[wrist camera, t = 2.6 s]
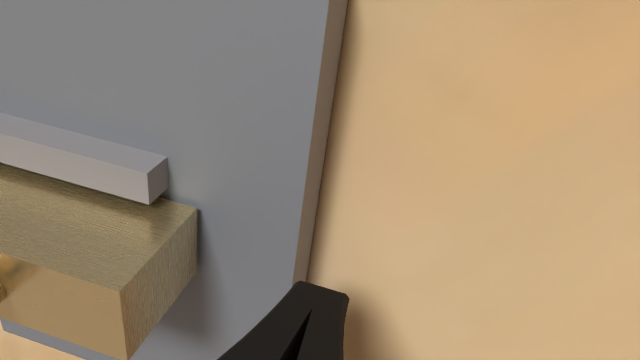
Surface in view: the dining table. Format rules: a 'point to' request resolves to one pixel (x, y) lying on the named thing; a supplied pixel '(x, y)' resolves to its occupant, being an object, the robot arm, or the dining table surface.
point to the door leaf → (182, 136)
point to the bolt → (90, 260)
